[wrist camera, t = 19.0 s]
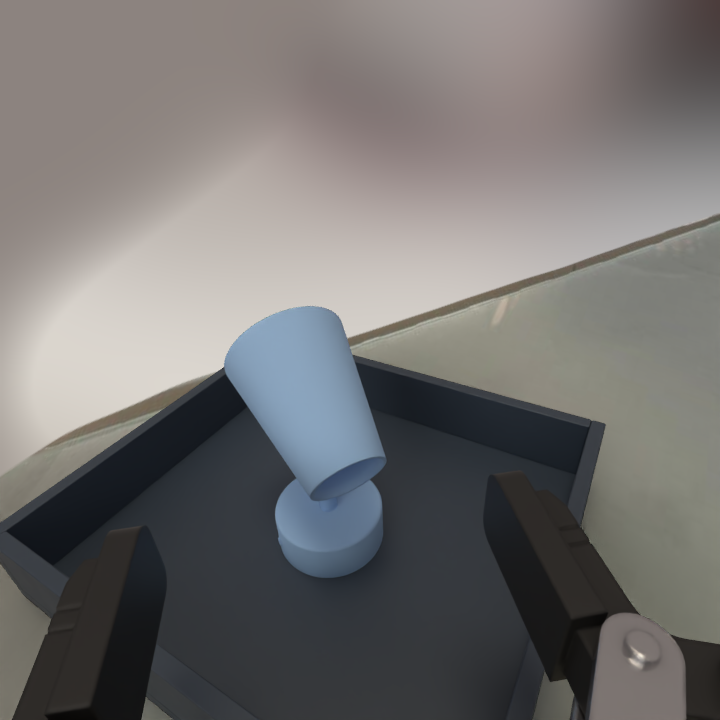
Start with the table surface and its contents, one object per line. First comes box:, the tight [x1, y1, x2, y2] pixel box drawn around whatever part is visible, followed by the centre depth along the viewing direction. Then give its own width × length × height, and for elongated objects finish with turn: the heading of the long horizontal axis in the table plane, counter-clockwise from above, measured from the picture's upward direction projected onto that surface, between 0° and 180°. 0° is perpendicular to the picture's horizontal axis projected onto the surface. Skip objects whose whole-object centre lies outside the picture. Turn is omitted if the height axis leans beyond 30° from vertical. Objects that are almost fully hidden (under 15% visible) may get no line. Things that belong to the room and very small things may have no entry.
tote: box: [0, 355, 606, 720], centre depth 21 cm, size 19×17×4 cm
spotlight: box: [224, 306, 387, 578], centre depth 19 cm, size 5×10×7 cm
